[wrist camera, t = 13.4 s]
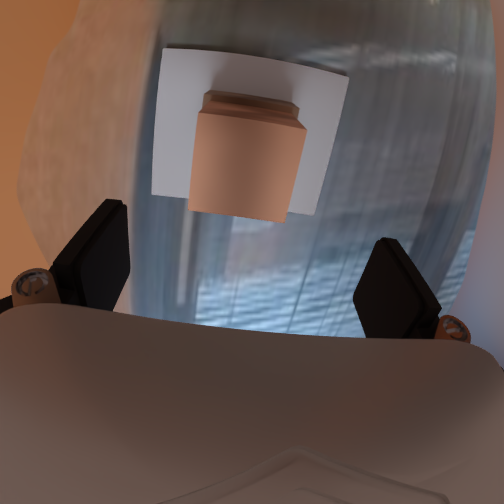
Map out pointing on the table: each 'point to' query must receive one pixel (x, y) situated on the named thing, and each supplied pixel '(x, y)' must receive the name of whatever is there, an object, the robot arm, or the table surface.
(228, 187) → the terracotta cube
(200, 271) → the table surface
